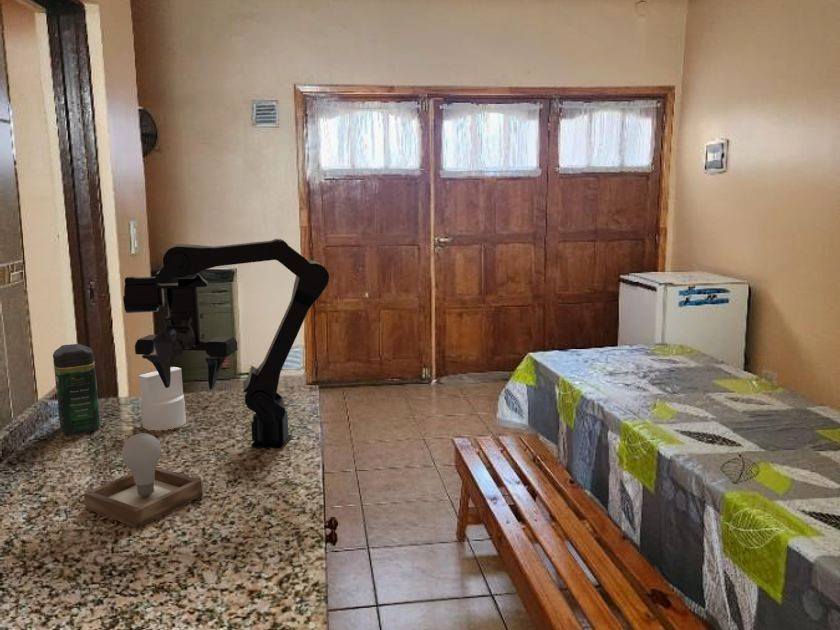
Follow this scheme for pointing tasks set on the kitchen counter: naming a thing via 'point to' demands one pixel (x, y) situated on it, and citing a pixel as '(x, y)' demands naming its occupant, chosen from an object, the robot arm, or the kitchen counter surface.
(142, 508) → the walnut tray
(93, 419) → the coffee jar
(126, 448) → the lightbulb
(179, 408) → the cylinder with rectangular tab
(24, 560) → the kitchen counter surface
